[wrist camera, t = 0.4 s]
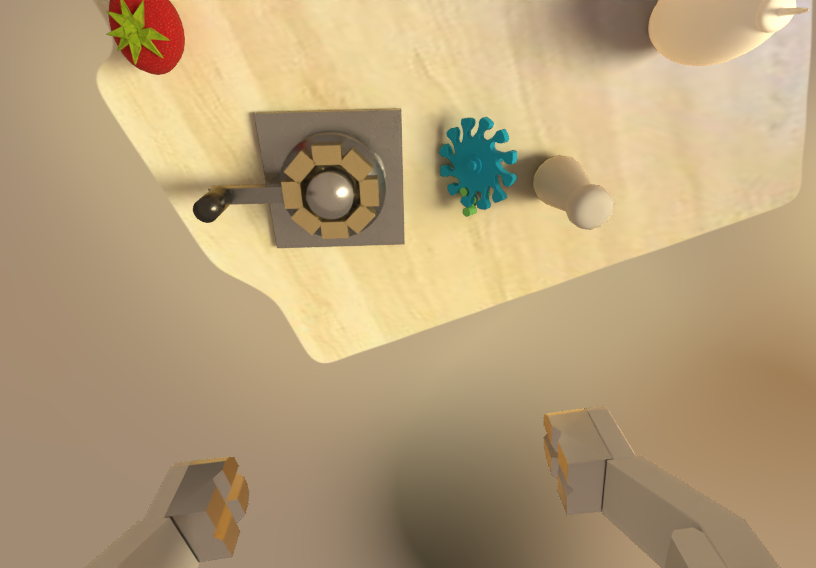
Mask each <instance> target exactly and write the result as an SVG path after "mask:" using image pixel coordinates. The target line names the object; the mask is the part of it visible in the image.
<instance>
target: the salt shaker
mask: <svg viewBox="0 0 816 568" xmlns="http://www.w3.org/2000/svg"><path fill="white" fill-rule="evenodd" d="M533 188H534V190H535V192H536V195H537V197H538V199H540V200H541V201H543V202H544V203H545V204H547V205H550V206H553V207H555V208H558V209H561V210H563V211H566V213H567V216H568V218H569V220H570V221H571V222H572V223H573V224H575V225H576V226H577V227H579V228H582V229H588V230H591V229H594V228H598V227H600V226H601V225H603V224H604V223H605V222H607V221H608V219H609V218H610V216H611V215H612V213H613V208H614V201H613V199H612V196H611V194H610V193H609V192H608V191H607V190H605V189H604V188H603V187H601V186H600V185H593V184H591V182H590V181H589V179H588V177H587V175H586V173H585V172H584V170H583V168H582V166H581V164H580V163H579V162H577V161H576V160H575V159H574V158H573V157H567V156H560V155H559V156H556V157H552V158H549V159H547V160H546V161H545V162H544V163H543V164H541V165H540V166H539V168H538V170H537V172H536V173H535V175H534V183H533Z"/></svg>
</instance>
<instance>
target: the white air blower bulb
mask: <svg viewBox="0 0 816 568" xmlns="http://www.w3.org/2000/svg"><path fill="white" fill-rule="evenodd" d="M808 11H809V9H808V8H796V1H795V0H659V1H658V2H657V4H656V6H655V7H654V9H653V12H652V14H651V16H650V20H649V27H648V31H649V37H650V39H651V42H652V44H653V45H654V47H655V48H656V50H657V51H658V52H660V53H661V54H662V55H663V56H664V57H666V58H668V59H670V60H671V61H674V62H677V63H680V64H684V65H692V66H706V65H712V64H718V63H722V62H726V61H729V60H731V59H734V58H736V57H739V56H741V55H743V54H745V53H747V52H749V51H751V50H752V49H754V48H755V47H757V46H759V45H760V44H762V43H763V42H764V41H766V40H767V39H768V38H769V37H770V36H771V35H772V34H773V33H774V32H776V31H778V30H780V29H781V28H783V27H784V26H785V25H786V24H787V23H788V22H789V21H790V20H791V18H792V16H793V15H794V14H801V13H805V12H808Z"/></svg>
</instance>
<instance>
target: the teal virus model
mask: <svg viewBox="0 0 816 568" xmlns="http://www.w3.org/2000/svg"><path fill="white" fill-rule="evenodd" d="M461 125H462V128H463V140H462V143H461V142H460V140H459V137H460V129H459V128H458V127H455V128H451V129H450V130H448V131H447V137H448V138H449V139H450V140H451V141H452V143H453V145H454V149H455V155H454V154H453V152H452V147H451V146H450V145H449V144H445V145H443V146H442V147H441V149H440V152H439V154H440V155H441V156H442V157H446V158H448V159H449V160H450V161H451V162H452V164H453V165H454V170H453V169H452V168H451V166H450V165H448V164H447V165H443V166H441V169H440V173H441V176H442V177H446V176H449V175H451V176H454V177H456V178H458V179H459V184H457V183H452V184H449V185H448V186H447V187H448V191H449V193H450V195H455V194H458V193H459V191H460V194H461V196H463V197H462V198H461V201H460V202H461V203H462V204H463V205H464V206H465V207H466V208H464V209H463V214H464V215H465V216H466V217H467V216H470V215H473V214H475V213H476V211H477V209H476V207H475V206H476V205H477V207H478V208H479V209H484V210H486V209H488V208H490V206H491V203H490V200H489V196H490V192H489V190H490V186H491V187H492V188H493V190H494V192H493V196H492V198H493V201H494V202H495V203H497V202H500V201H502V200H504V199H506V198H507V195H506V193H505V192H504V191H503V190H502V188H501V187H500V184H499V180H498V175H499V174H500V175H501V177H502V181H503V184H504V185H505V186H506V187H509V186H511V185H513V184H514V183H515V181H516V179H517V176H516V175H515V174H514V173H510V172H508V171H506V170H505V169H504V168H503V167H502V165H501V164H500V162H502V161H503V160H504V162H505V163H506V164H509V165H510V164H513V163H516V161H517V152H516V151H515V150H512V151H508V152H500V151H498V150H496V149H495V142H497V143H504V142H507V141H508V140H509V136H508V133H507V131H506V129H503V130H498V131H497V132H496V133H495V135H494V136H493V137H492V138H491V139H489V140H486V139H485V138H484V132H485V131H486V130H489V129H491V128H492V127H493V125H494V123H493V121H492V120H491V119H489V118H488V117H483V118H481V119H480V121H479V127H478V131H477V133H476V134H475V136H474V137H472V136H471V130H472V128H473V127H474V126H475V119H474V118H464V119H462V120H461Z"/></svg>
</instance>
